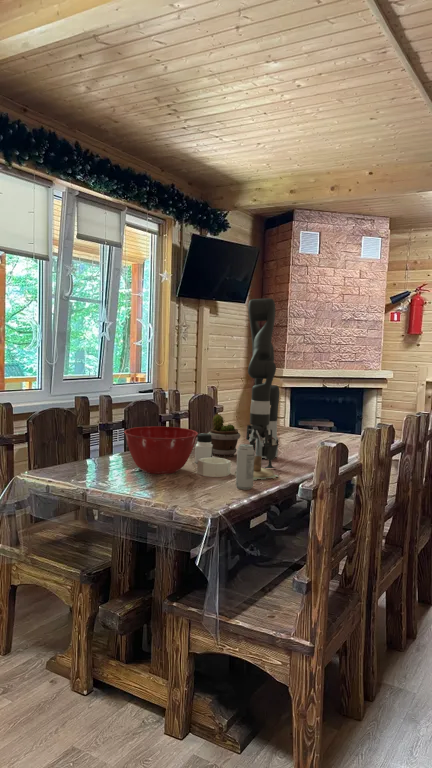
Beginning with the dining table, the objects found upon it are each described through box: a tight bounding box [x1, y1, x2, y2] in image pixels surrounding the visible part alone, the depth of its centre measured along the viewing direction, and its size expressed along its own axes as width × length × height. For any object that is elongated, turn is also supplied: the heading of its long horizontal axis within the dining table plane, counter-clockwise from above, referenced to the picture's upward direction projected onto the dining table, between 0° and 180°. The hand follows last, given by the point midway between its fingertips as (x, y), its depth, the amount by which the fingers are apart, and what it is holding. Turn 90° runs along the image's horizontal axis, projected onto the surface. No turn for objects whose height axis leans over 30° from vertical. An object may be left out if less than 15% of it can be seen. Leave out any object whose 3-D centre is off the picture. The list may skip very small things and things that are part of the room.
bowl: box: [196, 456, 232, 478], centre depth 214 cm, size 12×12×5 cm
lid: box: [253, 455, 275, 478], centre depth 213 cm, size 13×13×7 cm
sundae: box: [264, 437, 280, 468], centre depth 227 cm, size 7×7×15 cm
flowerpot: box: [207, 413, 242, 458], centre depth 253 cm, size 14×15×20 cm
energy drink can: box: [235, 443, 256, 491], centre depth 192 cm, size 6×6×15 cm
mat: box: [235, 471, 280, 481], centre depth 213 cm, size 12×12×1 cm
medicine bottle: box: [194, 432, 213, 464], centre depth 236 cm, size 7×7×12 cm
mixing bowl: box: [123, 425, 199, 475], centre depth 214 cm, size 28×28×16 cm
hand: (258, 453), depth 213 cm, fingers open, 8 cm apart
